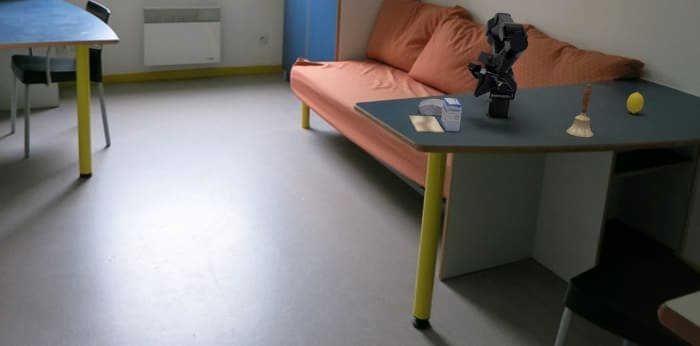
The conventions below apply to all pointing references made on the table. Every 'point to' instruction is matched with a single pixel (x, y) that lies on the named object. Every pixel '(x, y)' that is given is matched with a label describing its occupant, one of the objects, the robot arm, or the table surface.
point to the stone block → (431, 107)
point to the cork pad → (426, 124)
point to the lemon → (635, 102)
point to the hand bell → (582, 118)
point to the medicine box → (451, 114)
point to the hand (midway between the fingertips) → (474, 96)
